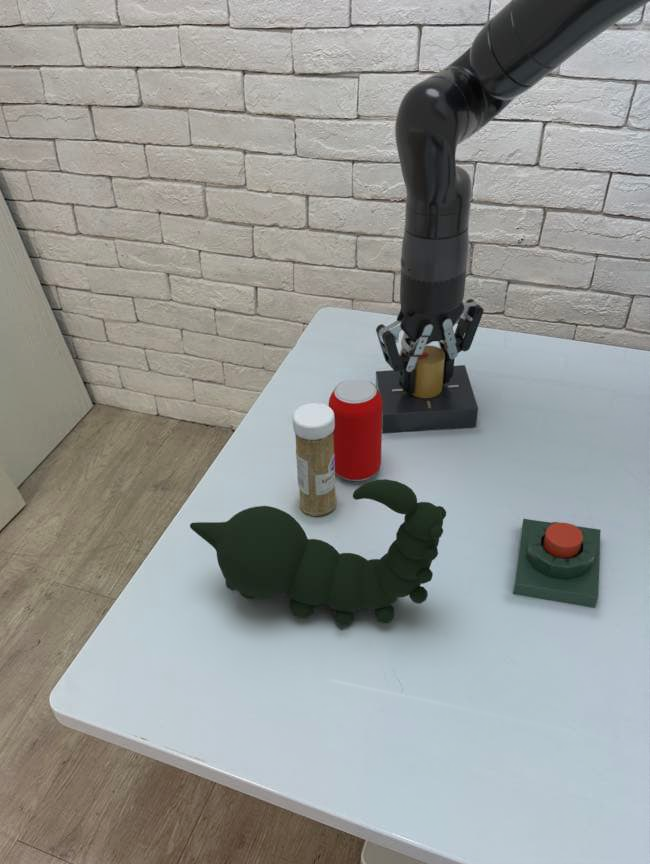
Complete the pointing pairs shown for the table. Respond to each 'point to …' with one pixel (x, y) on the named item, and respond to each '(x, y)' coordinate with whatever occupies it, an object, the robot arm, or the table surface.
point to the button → (563, 540)
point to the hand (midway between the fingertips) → (425, 385)
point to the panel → (427, 404)
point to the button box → (557, 567)
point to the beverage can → (357, 429)
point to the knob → (429, 372)
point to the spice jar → (315, 458)
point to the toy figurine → (328, 557)
